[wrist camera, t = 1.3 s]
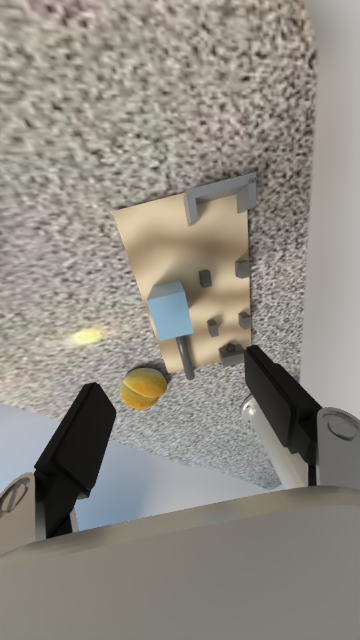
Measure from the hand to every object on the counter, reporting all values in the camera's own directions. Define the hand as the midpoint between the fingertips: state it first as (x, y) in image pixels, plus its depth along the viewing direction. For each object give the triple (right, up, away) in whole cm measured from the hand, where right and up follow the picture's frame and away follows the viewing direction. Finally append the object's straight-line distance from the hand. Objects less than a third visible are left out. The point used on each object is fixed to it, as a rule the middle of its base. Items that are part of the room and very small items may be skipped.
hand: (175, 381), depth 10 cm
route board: (+3, +7, +14) cm, 16 cm away
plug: (0, +1, +16) cm, 16 cm away
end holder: (+4, +18, +9) cm, 20 cm away
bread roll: (-7, -9, +21) cm, 24 cm away
